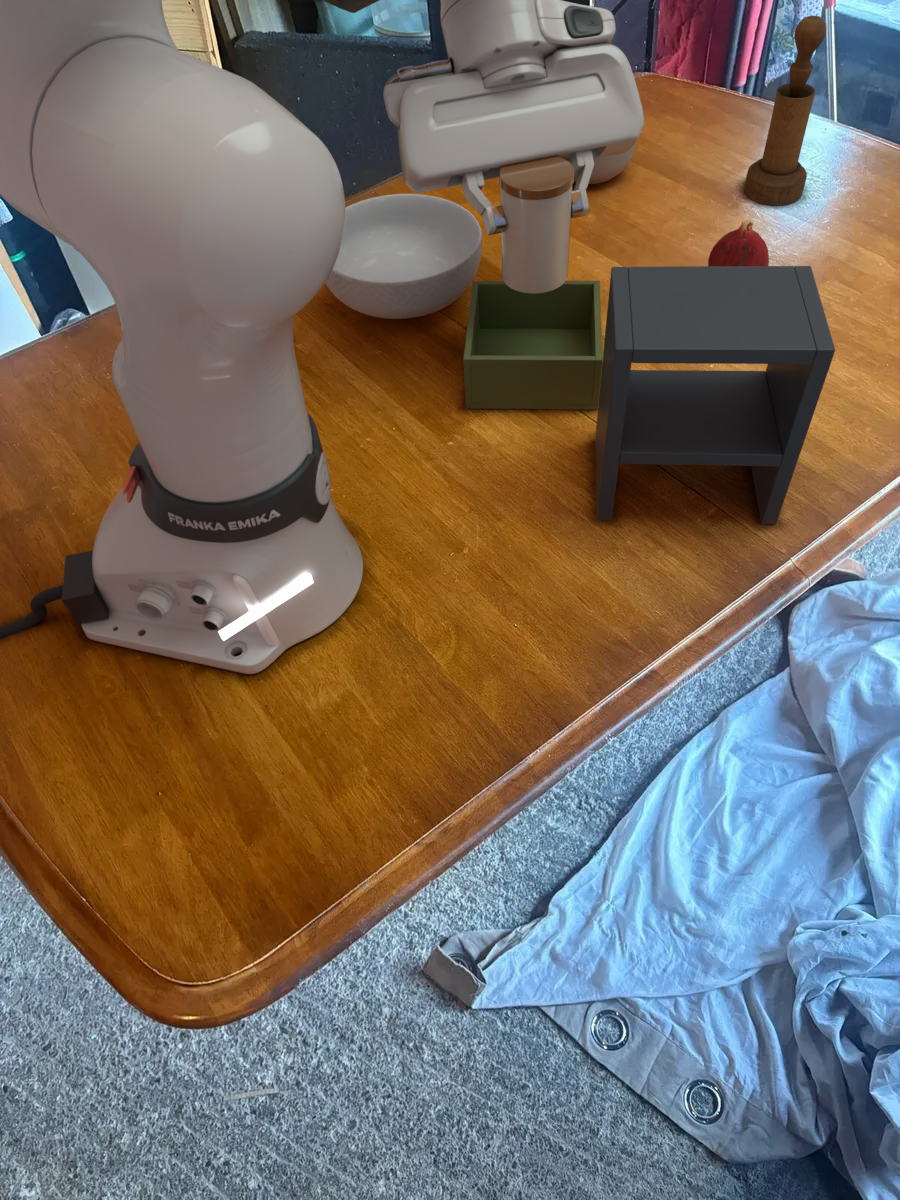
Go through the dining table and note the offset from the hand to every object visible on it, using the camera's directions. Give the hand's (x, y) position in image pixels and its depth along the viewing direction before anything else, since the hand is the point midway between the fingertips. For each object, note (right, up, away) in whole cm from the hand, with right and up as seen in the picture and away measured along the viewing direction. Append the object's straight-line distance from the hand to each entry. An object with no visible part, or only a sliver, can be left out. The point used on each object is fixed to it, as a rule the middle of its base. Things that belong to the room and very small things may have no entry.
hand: (538, 223), depth 74 cm
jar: (0, -3, +4) cm, 5 cm away
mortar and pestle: (+30, +16, +30) cm, 46 cm away
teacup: (+9, +20, +34) cm, 41 cm away
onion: (+22, 0, +18) cm, 28 cm away
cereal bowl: (-12, +1, +21) cm, 24 cm away
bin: (+1, -9, +12) cm, 15 cm away
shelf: (+12, -21, +2) cm, 25 cm away
